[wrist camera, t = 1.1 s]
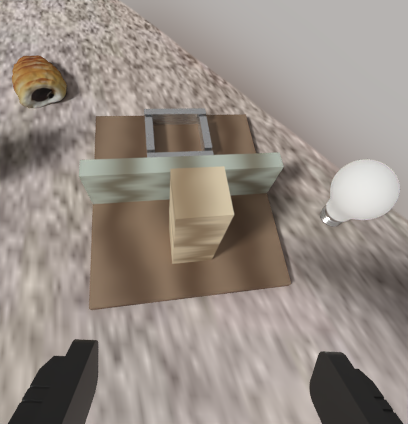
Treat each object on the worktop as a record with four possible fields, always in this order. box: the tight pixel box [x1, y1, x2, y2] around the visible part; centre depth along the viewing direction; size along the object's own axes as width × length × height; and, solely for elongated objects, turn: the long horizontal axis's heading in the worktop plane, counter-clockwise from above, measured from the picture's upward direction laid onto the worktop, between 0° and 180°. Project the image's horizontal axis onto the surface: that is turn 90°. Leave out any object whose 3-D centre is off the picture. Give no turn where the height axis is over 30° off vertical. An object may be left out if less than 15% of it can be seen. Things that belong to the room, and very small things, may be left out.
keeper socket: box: [144, 109, 214, 158], centre depth 38 cm, size 8×8×2 cm
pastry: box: [12, 56, 67, 108], centre depth 41 cm, size 9×7×4 cm
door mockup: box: [79, 115, 291, 310], centre depth 33 cm, size 22×26×7 cm
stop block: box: [169, 166, 234, 264], centre depth 27 cm, size 4×4×12 cm
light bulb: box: [320, 159, 400, 227], centre depth 33 cm, size 7×7×11 cm
